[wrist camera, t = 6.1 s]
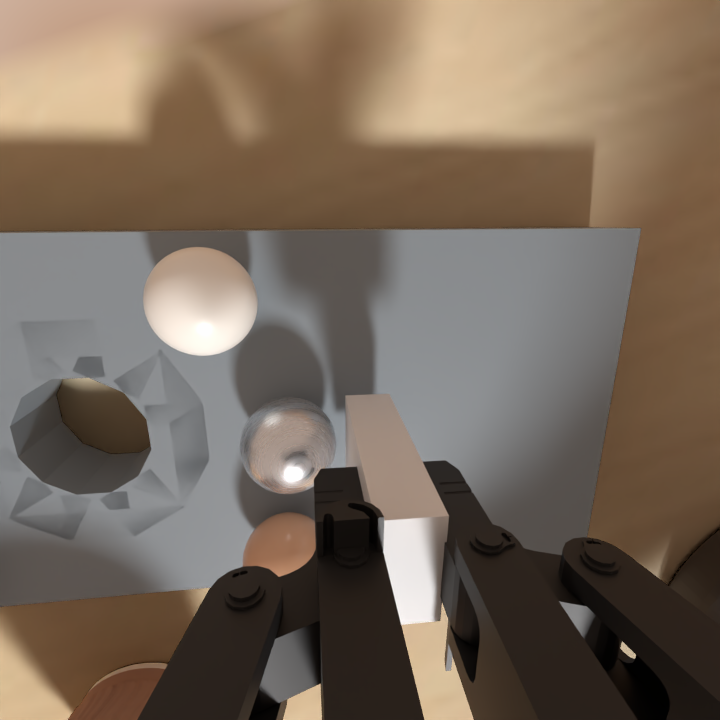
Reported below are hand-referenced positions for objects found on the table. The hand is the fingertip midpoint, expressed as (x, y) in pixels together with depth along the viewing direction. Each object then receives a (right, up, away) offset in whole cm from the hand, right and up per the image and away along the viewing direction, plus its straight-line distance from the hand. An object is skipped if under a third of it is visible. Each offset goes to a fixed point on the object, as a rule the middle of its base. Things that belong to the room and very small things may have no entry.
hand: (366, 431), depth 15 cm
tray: (-3, +1, +4) cm, 5 cm away
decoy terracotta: (-3, -5, +1) cm, 6 cm away
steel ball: (-3, 0, 0) cm, 3 cm away
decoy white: (-5, +4, -2) cm, 7 cm away
